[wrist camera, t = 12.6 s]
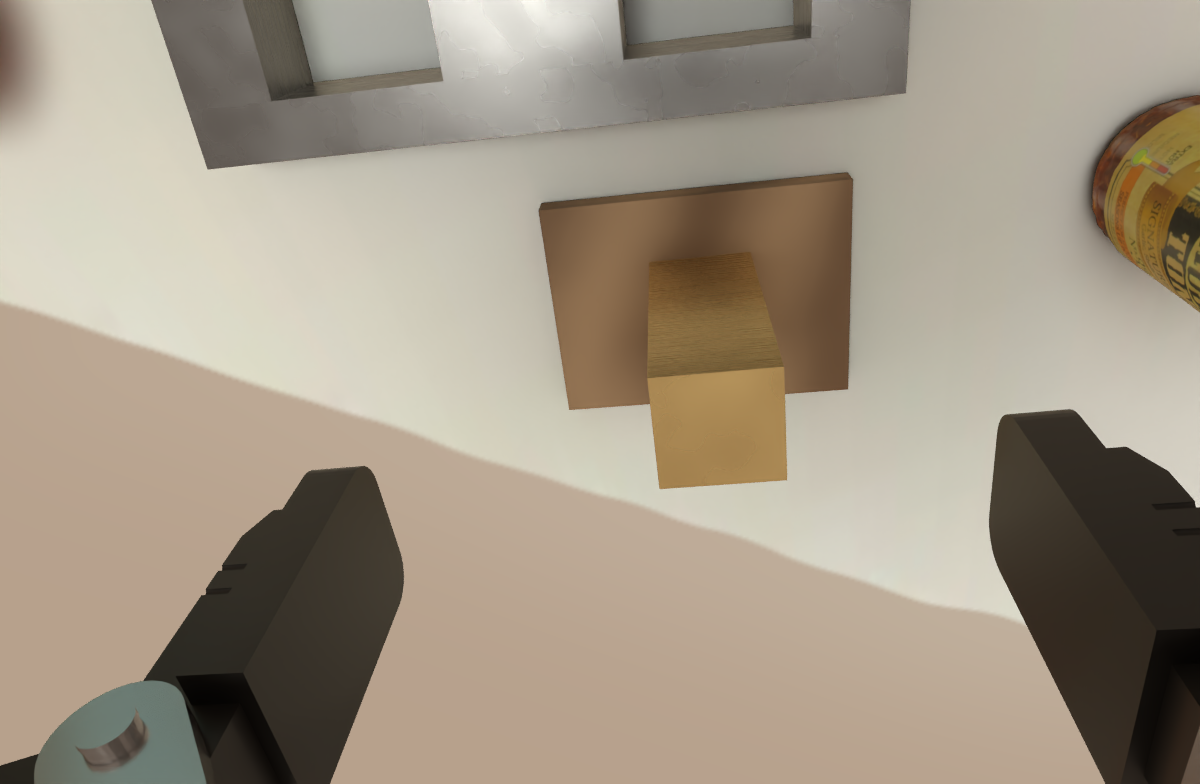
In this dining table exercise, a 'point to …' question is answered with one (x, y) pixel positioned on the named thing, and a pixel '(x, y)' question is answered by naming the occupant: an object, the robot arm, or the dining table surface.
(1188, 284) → the sauce bottle
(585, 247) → the walnut board
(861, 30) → the grey slotted block
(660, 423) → the brass peg
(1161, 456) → the dining table surface
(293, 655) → the robot arm
